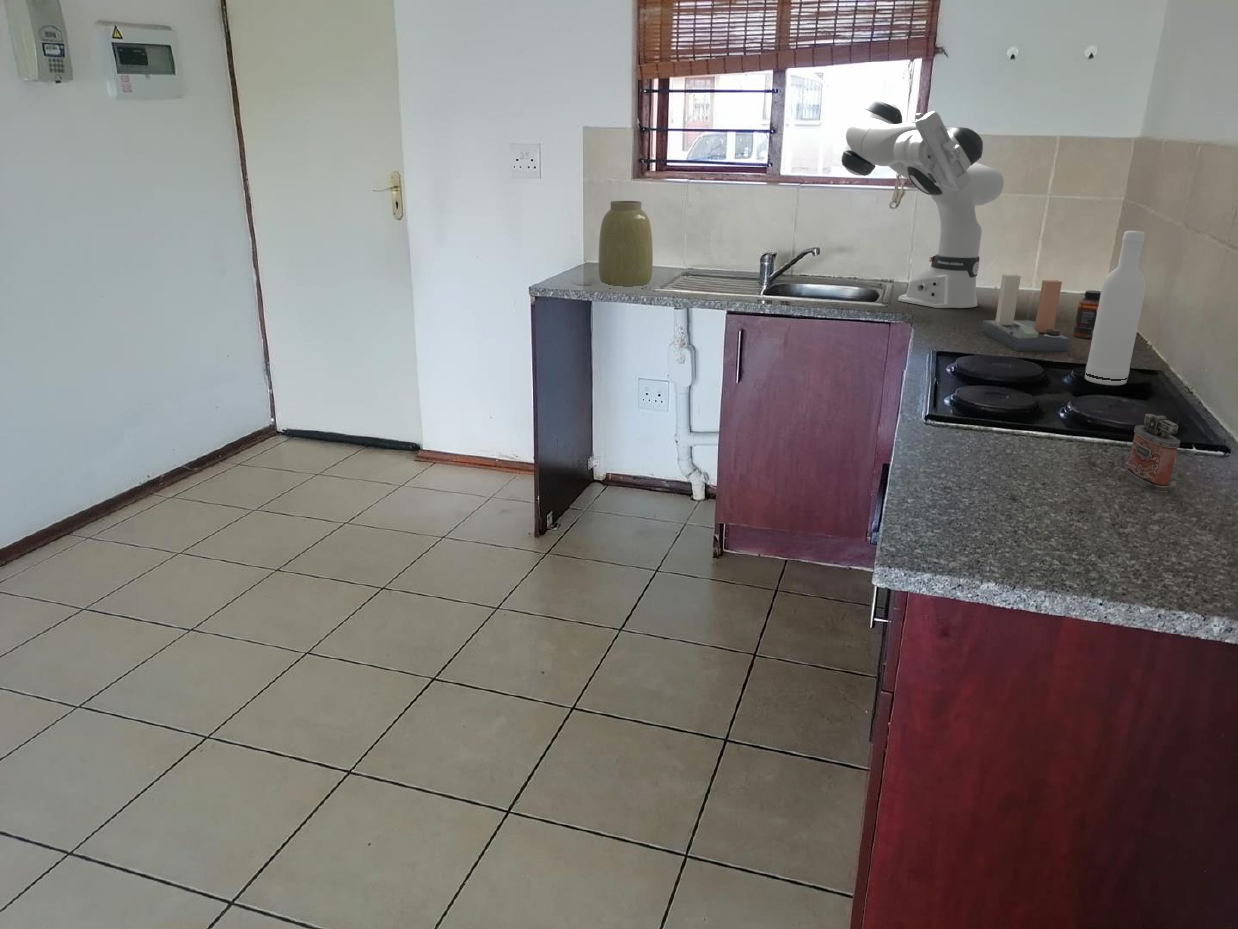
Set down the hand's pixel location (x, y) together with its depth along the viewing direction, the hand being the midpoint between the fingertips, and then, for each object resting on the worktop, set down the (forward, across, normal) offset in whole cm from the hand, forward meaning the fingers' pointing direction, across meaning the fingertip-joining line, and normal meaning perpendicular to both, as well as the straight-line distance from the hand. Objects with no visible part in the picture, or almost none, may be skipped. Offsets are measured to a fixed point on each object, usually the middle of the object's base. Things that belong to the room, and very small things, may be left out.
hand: (959, 152), depth 214 cm
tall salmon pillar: (+15, +44, +7) cm, 47 cm away
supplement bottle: (+8, +56, -4) cm, 57 cm away
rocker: (+19, +40, +12) cm, 46 cm away
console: (+12, +45, +11) cm, 48 cm away
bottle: (+48, +43, +13) cm, 66 cm away
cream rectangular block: (+6, +41, +11) cm, 43 cm away
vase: (-76, -2, +82) cm, 111 cm away
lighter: (+102, +24, +38) cm, 111 cm away
